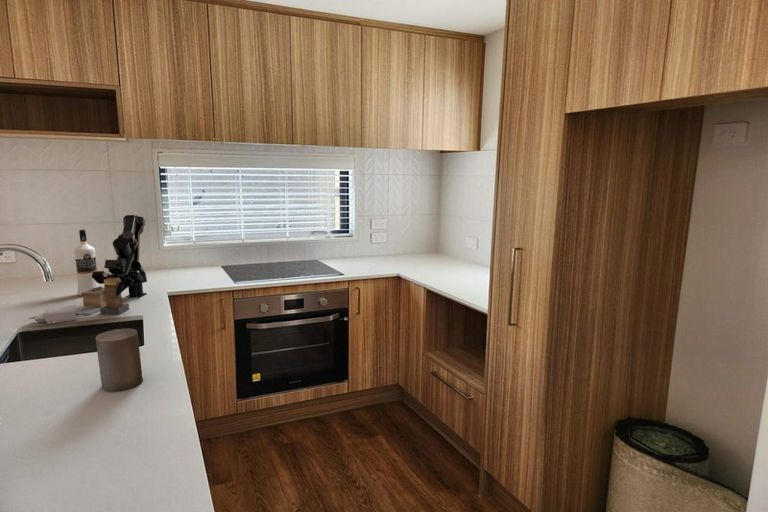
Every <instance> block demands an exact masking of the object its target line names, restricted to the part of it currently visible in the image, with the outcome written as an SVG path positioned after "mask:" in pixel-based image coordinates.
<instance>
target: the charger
mask: <svg viewBox="0 0 768 512" xmlns="http://www.w3.org/2000/svg"><path fill="white" fill-rule="evenodd" d="M76 311H77V306H76V304H69V305H63V306H54V307H48V308H46V309H45V311H44V312H42V313H35V315H34V316H29V317H28V320H35V322H43V321H45V324H47V323H53V322H61V323H64V322H63V321H68V322H73V321H72V320H75V321H77V320H76V319H78V318H77V317H78V315H76V314H77V313H76Z"/></svg>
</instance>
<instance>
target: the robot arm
mask: <svg viewBox="0 0 768 512" xmlns="http://www.w3.org/2000/svg"><path fill="white" fill-rule="evenodd" d="M122 223H123V229H122V233H120V234H118V236H117V238H115V239H114V240H113V241H112V246H113V249H114V252H115V254H116V256H117V258H115V259H105V260H104V269H108V273H107V272H105V271H104V270H97V271H94V272H93V273H92V276H91V277H92V278H93V279H94V280H95V281H96V282H97V283H99V285H101V284H102V285H103V286H104V280H105V279H107V278H120V284H119V286H118V289H117V292H116V295H117V296H118V295H119V294H120V293H121V294H122V293H123V292H124V291H126V290H127V289H128V294H127V295H126V296H125V298H141V297H144V296H146V295H148V294H147V292H144V288H143V284H144V283H147V282H148V279H147V275H146V272H145V269H144V267H143V266H142V264H141V263H140V244H141V243H140V241H141V240H140V236H141V235H142V233H143V232H144V228H145V226H146V220H145V218H144V217H143V216H140V215H137V214H126V215H124V216H123V218H122ZM103 288H105V286H104V287H103Z"/></svg>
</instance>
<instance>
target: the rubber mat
mask: <svg viewBox="0 0 768 512" xmlns="http://www.w3.org/2000/svg"><path fill="white" fill-rule="evenodd" d="M98 312H100V308H84V307H83V308H81V309H79V310H76V313H77V314H92V315H93V313H94V314H95V313H98Z"/></svg>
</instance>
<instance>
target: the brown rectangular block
mask: <svg viewBox="0 0 768 512" xmlns="http://www.w3.org/2000/svg"><path fill="white" fill-rule="evenodd" d="M119 284H120V278H107V279H105V280H104V284H103V286H105V287H104V288H105V295H106V305H107V308H118V307H120V306H122V304H123V300H122V299H123V298H122V293H120V294H119V295H118V296H117V295H116V292H117V289H118V286H119Z"/></svg>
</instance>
